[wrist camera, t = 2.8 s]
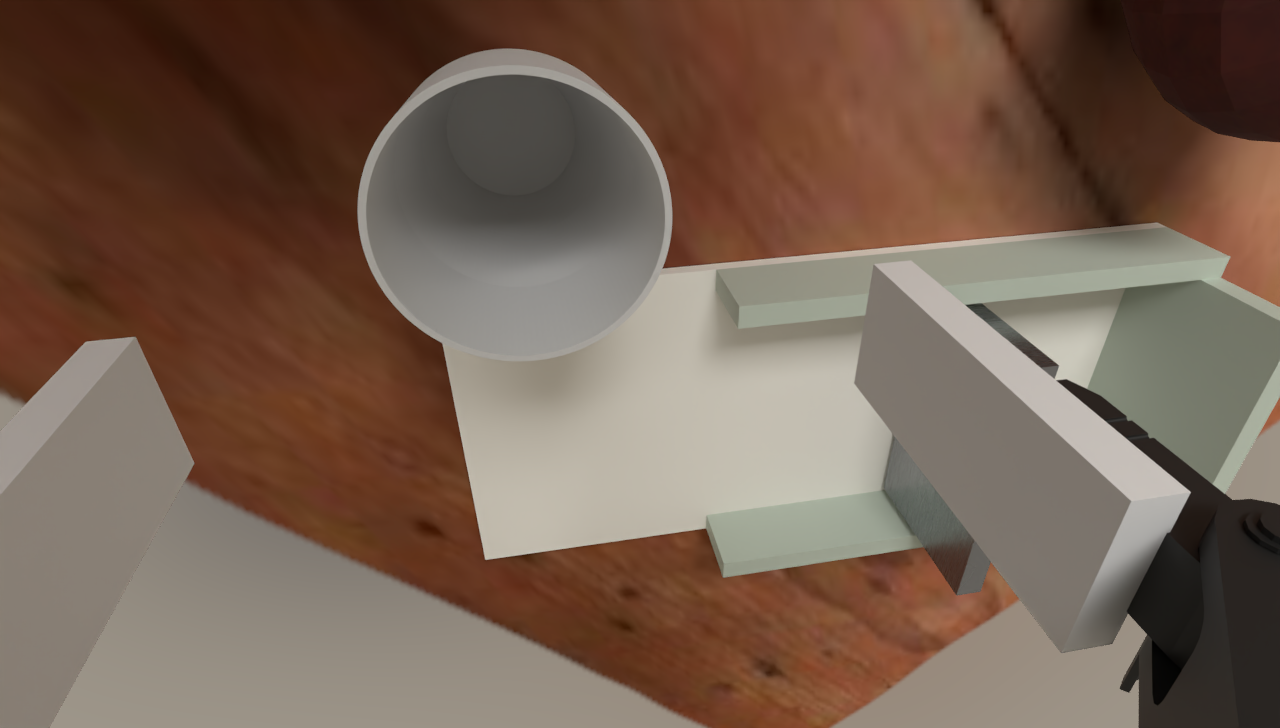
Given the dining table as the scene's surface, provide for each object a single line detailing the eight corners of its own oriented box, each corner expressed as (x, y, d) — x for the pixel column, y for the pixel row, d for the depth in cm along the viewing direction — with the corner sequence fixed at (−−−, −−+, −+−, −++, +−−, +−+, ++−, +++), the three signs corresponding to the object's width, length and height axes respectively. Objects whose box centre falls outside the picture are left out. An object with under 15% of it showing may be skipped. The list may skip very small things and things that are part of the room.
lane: (485, 551, 38) (483, 698, 31) (434, 289, 30) (415, 408, 23) (1061, 469, 43) (1175, 582, 36) (1157, 222, 34) (1331, 304, 27)
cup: (370, 35, 25) (305, 98, 16) (601, -4, 25) (653, 38, 17) (437, 250, 29) (414, 386, 21) (632, 213, 30) (686, 331, 21)
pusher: (883, 487, 40) (956, 595, 33) (928, 282, 33) (1030, 369, 27) (903, 484, 40) (980, 591, 34) (952, 279, 33) (1059, 365, 27)
